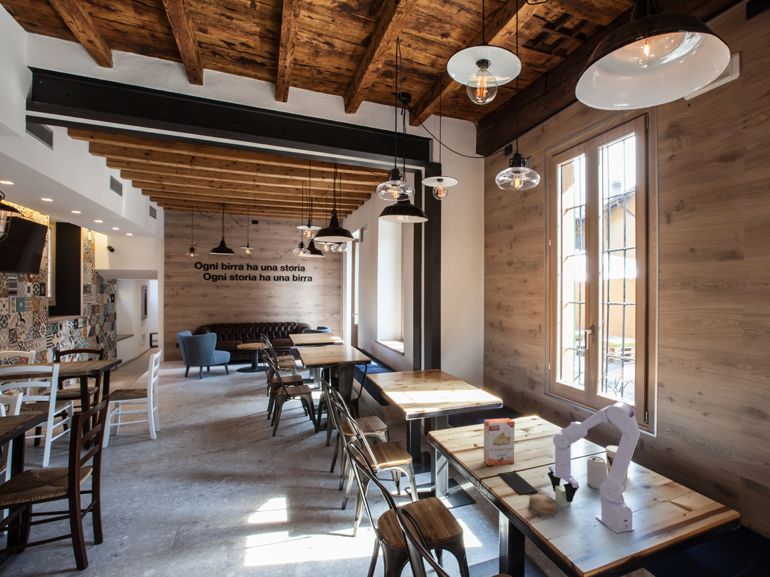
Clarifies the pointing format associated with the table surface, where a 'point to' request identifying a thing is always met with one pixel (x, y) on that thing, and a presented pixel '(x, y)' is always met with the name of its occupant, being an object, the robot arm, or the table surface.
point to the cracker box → (499, 441)
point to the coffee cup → (611, 457)
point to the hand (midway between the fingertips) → (562, 496)
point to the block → (561, 496)
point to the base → (543, 504)
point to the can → (596, 471)
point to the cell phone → (517, 483)
